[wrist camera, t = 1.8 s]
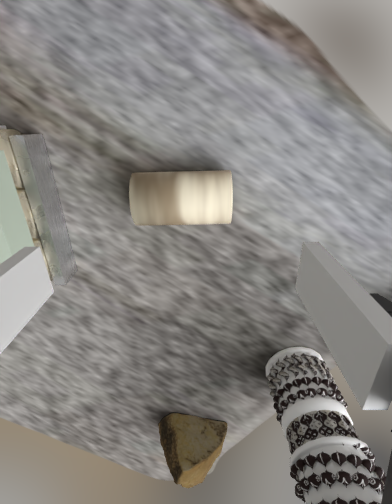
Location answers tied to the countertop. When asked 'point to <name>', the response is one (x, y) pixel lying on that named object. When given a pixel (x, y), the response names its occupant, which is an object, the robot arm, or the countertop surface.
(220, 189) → the roller
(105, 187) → the countertop surface
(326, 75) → the countertop surface
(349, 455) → the decorative candle
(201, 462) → the rock
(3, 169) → the slab
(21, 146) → the roller bed
